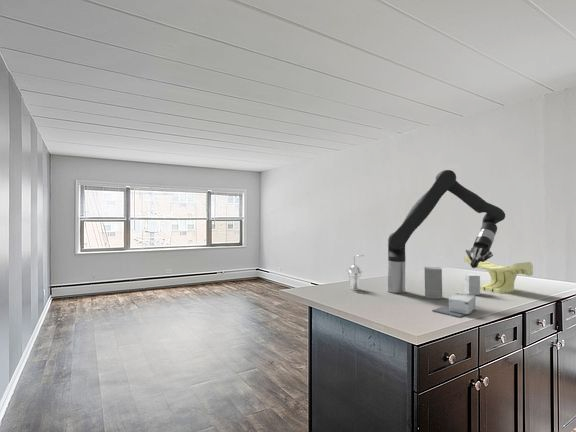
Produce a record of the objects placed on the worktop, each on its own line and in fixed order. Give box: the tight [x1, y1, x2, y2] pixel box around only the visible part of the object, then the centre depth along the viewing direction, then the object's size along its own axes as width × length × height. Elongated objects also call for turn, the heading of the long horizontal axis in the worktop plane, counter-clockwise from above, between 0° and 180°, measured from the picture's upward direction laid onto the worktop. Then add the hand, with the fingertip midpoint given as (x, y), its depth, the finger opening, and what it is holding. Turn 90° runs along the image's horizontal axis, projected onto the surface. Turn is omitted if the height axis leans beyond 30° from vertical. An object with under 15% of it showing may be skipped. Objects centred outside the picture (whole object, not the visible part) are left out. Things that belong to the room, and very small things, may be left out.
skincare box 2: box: [448, 293, 477, 315], centre depth 156 cm, size 8×6×15 cm
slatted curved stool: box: [463, 255, 534, 295], centre depth 200 cm, size 30×16×18 cm, turn 28°
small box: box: [464, 272, 481, 296], centre depth 190 cm, size 8×6×10 cm
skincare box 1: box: [424, 266, 443, 300], centre depth 180 cm, size 8×7×16 cm
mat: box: [431, 304, 477, 319], centre depth 155 cm, size 16×12×1 cm
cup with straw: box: [346, 254, 365, 291], centre depth 199 cm, size 8×9×20 cm
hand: (473, 267), depth 167 cm, fingers closed
